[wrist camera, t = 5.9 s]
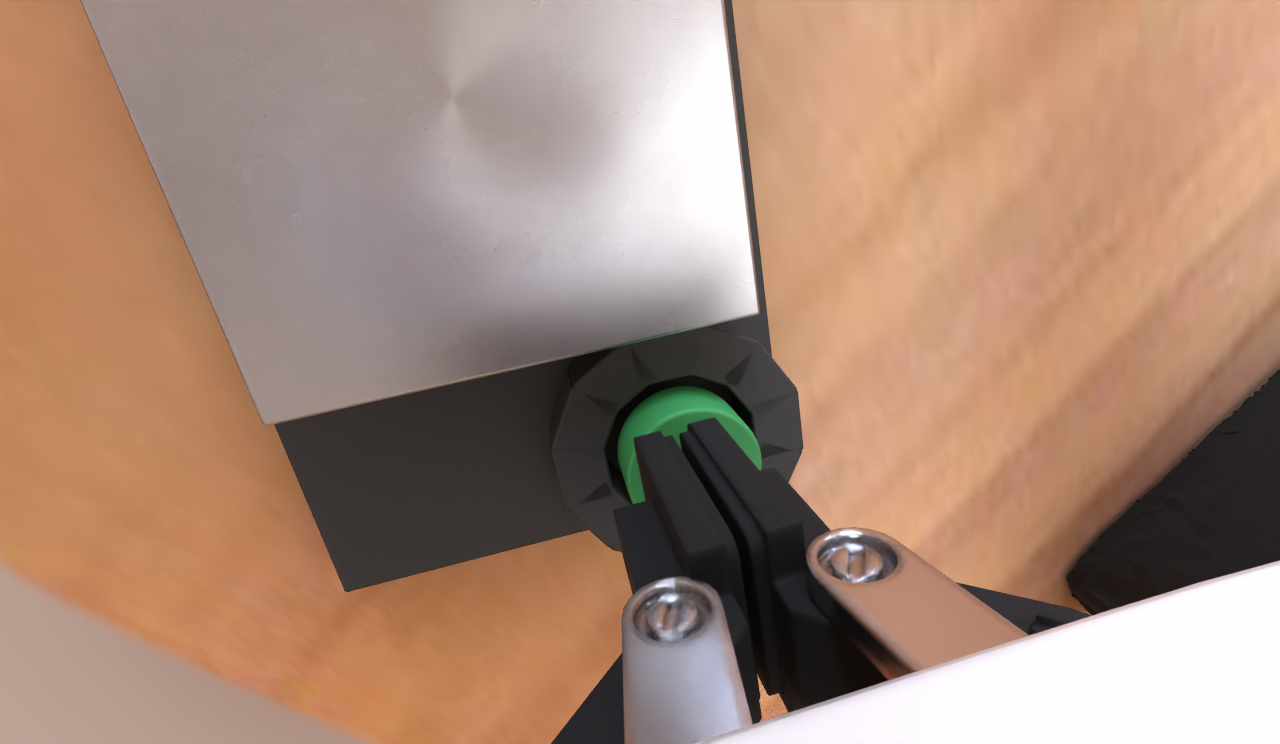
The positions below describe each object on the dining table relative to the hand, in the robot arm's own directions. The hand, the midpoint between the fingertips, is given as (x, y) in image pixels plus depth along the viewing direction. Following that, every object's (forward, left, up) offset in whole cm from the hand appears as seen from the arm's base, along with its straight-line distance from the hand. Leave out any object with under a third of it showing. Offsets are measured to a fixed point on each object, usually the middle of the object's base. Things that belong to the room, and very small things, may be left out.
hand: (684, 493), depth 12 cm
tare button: (0, 0, -2) cm, 2 cm away
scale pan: (-3, +8, -2) cm, 9 cm away
